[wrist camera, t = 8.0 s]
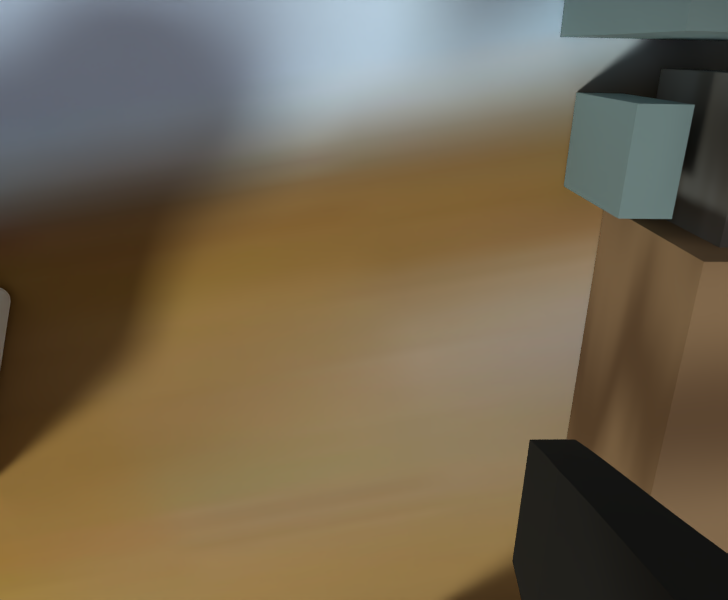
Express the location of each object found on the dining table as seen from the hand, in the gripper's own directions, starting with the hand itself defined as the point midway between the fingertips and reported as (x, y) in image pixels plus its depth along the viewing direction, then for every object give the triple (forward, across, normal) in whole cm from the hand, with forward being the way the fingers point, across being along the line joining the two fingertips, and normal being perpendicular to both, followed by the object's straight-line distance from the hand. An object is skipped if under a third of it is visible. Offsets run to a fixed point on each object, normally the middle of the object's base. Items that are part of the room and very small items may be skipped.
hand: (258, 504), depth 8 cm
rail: (+10, -10, 0) cm, 14 cm away
